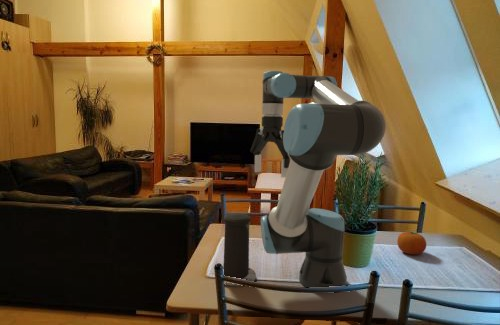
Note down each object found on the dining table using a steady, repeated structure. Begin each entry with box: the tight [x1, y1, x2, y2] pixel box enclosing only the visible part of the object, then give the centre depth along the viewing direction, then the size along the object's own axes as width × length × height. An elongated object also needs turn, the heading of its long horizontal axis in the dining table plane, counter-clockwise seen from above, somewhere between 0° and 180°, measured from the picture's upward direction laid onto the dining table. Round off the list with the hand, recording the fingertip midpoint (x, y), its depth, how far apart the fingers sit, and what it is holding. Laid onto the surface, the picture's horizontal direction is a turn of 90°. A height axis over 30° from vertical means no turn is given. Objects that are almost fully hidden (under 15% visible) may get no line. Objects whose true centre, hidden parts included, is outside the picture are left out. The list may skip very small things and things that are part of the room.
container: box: [222, 212, 252, 278], centre depth 113 cm, size 9×9×20 cm
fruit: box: [396, 231, 427, 256], centre depth 139 cm, size 11×10×8 cm
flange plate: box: [225, 267, 257, 288], centre depth 114 cm, size 13×13×1 cm
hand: (270, 174), depth 127 cm, fingers open, 13 cm apart
